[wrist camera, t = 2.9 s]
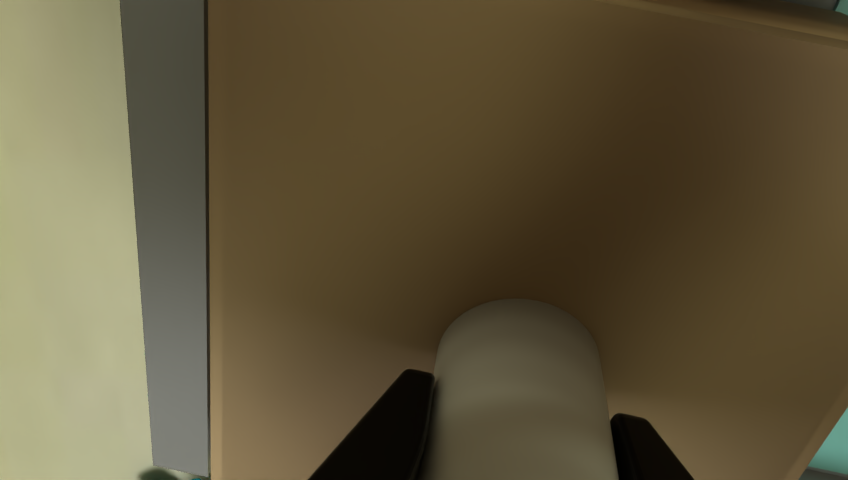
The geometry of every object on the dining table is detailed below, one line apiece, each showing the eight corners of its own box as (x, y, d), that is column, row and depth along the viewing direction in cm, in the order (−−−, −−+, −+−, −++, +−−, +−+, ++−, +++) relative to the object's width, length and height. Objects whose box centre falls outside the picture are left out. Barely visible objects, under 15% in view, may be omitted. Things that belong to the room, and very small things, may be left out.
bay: (1389, -21, 11) (1916, 54, 7) (934, 503, 19) (1059, 698, 14) (251, -237, 12) (98, -288, 8) (238, 355, 19) (155, 501, 15)
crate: (858, 2, 11) (1573, 314, 4) (653, 426, 17) (767, 918, 9) (322, -102, 12) (-70, -16, 4) (289, 350, 17) (96, 765, 9)
